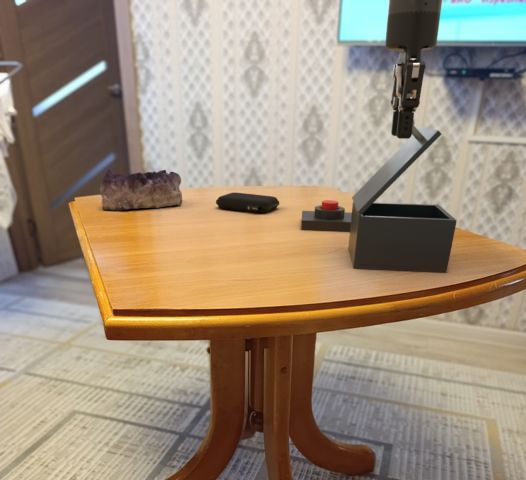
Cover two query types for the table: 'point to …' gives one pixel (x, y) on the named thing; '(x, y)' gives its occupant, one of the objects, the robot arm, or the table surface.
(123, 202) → the geode
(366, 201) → the hinged box lid
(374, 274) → the table surface
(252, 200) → the carrying case
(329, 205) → the red button
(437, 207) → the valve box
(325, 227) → the button block
